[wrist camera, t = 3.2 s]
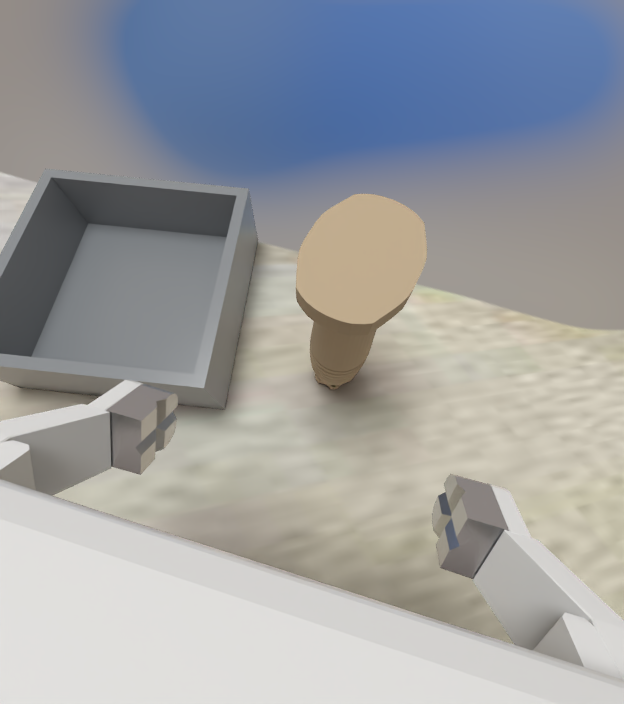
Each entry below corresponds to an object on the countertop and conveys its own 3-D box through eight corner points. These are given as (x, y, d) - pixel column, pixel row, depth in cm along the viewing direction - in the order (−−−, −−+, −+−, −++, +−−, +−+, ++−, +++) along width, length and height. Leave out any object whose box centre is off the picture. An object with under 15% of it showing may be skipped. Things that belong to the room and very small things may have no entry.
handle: (287, 391, 27) (271, 289, 13) (324, 326, 30) (343, 179, 16) (343, 420, 27) (386, 344, 13) (376, 351, 29) (445, 221, 15)
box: (258, 240, 33) (248, 188, 27) (224, 409, 27) (203, 388, 21) (88, 223, 33) (45, 168, 27) (18, 387, 27) (-56, 360, 21)
